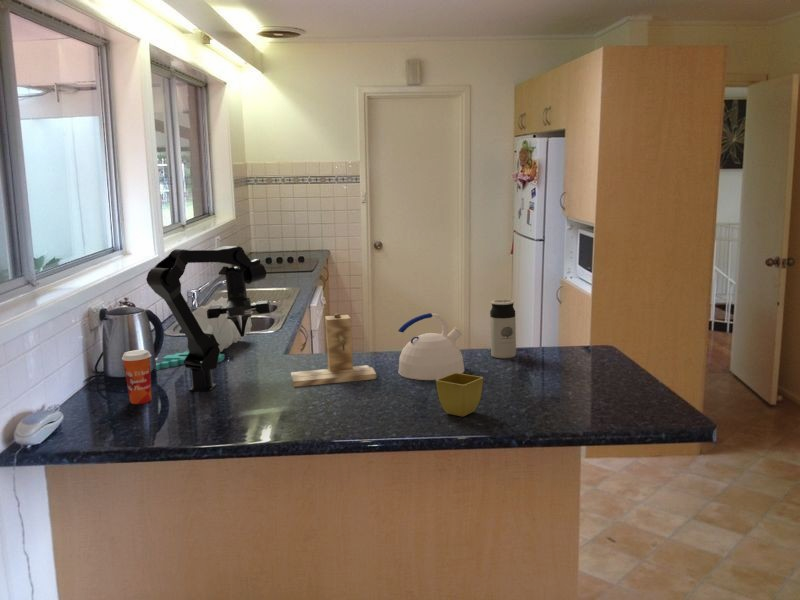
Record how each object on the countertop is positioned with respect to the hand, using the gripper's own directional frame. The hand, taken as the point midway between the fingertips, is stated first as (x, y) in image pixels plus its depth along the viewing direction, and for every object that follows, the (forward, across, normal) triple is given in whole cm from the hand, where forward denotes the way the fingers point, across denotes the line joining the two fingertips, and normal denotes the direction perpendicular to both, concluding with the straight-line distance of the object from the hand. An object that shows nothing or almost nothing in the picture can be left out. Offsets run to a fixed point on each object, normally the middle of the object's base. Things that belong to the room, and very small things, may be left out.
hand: (242, 336), depth 228 cm
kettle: (+14, +56, -11) cm, 59 cm away
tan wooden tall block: (+12, +29, -13) cm, 34 cm away
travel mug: (+16, +82, +1) cm, 83 cm away
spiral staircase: (+14, -13, +41) cm, 45 cm away
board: (+13, +26, -12) cm, 32 cm away
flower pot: (+13, +58, -52) cm, 78 cm away
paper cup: (+10, -27, -21) cm, 36 cm away
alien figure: (+13, -20, +21) cm, 32 cm away
